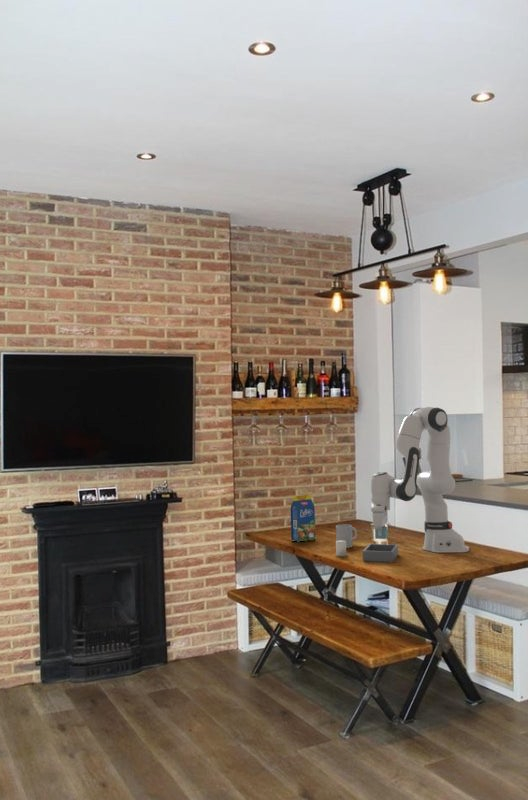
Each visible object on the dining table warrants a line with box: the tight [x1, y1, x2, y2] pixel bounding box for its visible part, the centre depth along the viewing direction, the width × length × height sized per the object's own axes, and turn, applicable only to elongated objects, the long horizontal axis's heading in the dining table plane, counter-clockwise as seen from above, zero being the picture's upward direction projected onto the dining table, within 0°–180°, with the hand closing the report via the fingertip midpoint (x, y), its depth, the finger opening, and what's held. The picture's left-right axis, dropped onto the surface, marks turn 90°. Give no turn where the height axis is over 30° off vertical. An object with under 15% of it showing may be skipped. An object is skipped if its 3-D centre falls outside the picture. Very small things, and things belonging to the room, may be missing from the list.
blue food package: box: [290, 493, 316, 543], centre depth 407 cm, size 6×12×25 cm, turn 124°
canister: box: [335, 540, 347, 557], centre depth 363 cm, size 5×5×7 cm
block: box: [374, 526, 388, 540], centre depth 358 cm, size 5×5×5 cm
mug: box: [335, 523, 358, 549], centre depth 387 cm, size 12×8×11 cm
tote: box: [362, 543, 399, 563], centre depth 354 cm, size 14×18×5 cm
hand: (381, 534), depth 358 cm, fingers closed on block, 5 cm apart
